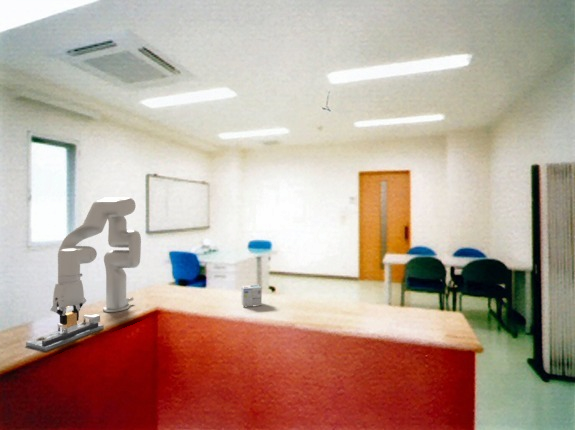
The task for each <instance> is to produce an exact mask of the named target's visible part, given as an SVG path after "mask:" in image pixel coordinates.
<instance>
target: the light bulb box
mask: <svg viewBox="0 0 575 430" xmlns="http://www.w3.org/2000/svg"><path fill="white" fill-rule="evenodd" d="M262 291H263V290H262V286H261V285H260V284H249V285H241V306H242V305H243V306H253V305H261V306H262V299H263V298H262V296H263V295H262V293H263V292H262ZM243 306H242V307H243ZM253 307H254V306H253Z"/></svg>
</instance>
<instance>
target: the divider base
mask: <svg viewBox="0 0 575 430" xmlns="http://www.w3.org/2000/svg"><path fill="white" fill-rule="evenodd" d="M82 318H83V319H82V320H83V321H82V322H79V323H77V330H75V331H73V332H70V333H64V332H62V329H60V331H58V330H57V331H54V332H51V333H48V334H44V335H42V336H39V337H37V338H34V339H31V340H28V341H26V342H25V346H26V347H29V348H33V349H37V350H40V351H43V352H48V351H50V350H52V349H55V348H58V347H60V346H62V345H65V344H69V343H70V342H73V341H75V340H77V339H82V338H84V337H86V336H87V335H91V334H92V333H96V332H98V331H100V330H103V329H104V325H103V324H99V323H101V314H91V315H90V314H84V315H83V316H82ZM86 319H88V321H86Z"/></svg>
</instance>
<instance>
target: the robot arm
mask: <svg viewBox="0 0 575 430" xmlns="http://www.w3.org/2000/svg"><path fill="white" fill-rule="evenodd" d="M135 210H136V202H135V200H134V198H131V197H117V196H116V197H115V196H114V197H111V196H110V197H109V196H108V197H103V198H101V199H100V200H99V199H98V200H95V201H94V202H93V203H92V204H91V207H90V208H89V211H88V212H87V214H86V217H85V219H84V221H83V223H82V224H81V225H80V226H78V227H76V228H75V229H74V230H72V231H71V232H69V234H67V235H66V236H65V237H64V238H63V240H62V243H61V245H60V247H59V249H58V251H57V252H58V253H57V283H55V286H54V289H53V296H52V297H53V298H52V307H51V309H50V312H54V313H56V314H57V315H58V316H59V323H60V324H63V325H67V315H65V314H66V313H67V309H68V307H69V308H70V307H72V311H71V312H75V313H77V322H78V321H79V320H80V319H79V318H80V317H79V315H80V311H81V308H82V307H83V306H84V304H86V302H87V299H86V298H85V295H84V294H85V293H84V292H85V291H84V286H83V282H82V281H83V280H81V277H83V273H81V265H82V264H83V265H84V264H89V263H92V262H94V261H95V260H96V258H97V255H98V253H97V250H96V248H94V247H93V246H89V245H88V246H87V245H78V244H79V243H80V242H82V241H83V240H86V239H88V238H91V237H93V236H96V235H99V234H102V232H103V230H104V229H105V226H106V223H107V221H108V236H107V239H108V240H107V241H108V243H107V244H108V245H109V247H112V248H118V249H112V250H109V251H107V252H106V253H105V254H104V256H103V262H104V266H105V267H104V268H105V274H106V275H105V278H106V279H105V281H106V282H105V285H106V287H105V291H106V292H105V301H106V302H105V303H106V304H105V306H104V307H102V311H103V312H105V313H116V312H121V311H125V310H127V309H129V308H130V304H129V303H130V302H132V301H134V297H133V296H132V297H129V298H128V297H127V274H126V271H125V270H124V269H135V268H137V267H138V266H140V262H141V253H142V252H141V248H142V247H141V246H142V238H141V234H140V232H139V231H137V230H134V229H127V223H128V222H127V219H126V216H129V215H131V214H132V213H134V211H135ZM119 248H121V249H119ZM122 248H125V249H122Z"/></svg>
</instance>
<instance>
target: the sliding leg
mask: <svg viewBox="0 0 575 430" xmlns="http://www.w3.org/2000/svg"><path fill="white" fill-rule="evenodd" d="M65 315H67V325H63V324H60V322H59V323H57V331H60V330H62V332H64V333H70V332H73V331H75V330H77V324H78V321H77V313H75V312H72V311H70V312H66V314H65Z"/></svg>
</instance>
